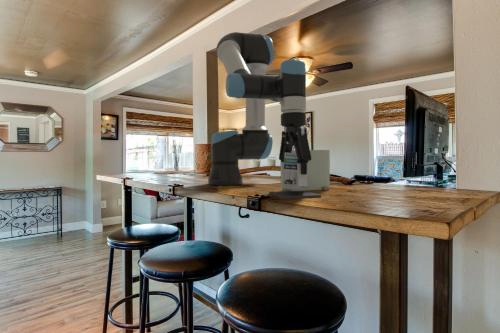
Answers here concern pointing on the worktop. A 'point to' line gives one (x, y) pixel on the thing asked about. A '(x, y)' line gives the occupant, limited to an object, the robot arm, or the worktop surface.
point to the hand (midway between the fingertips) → (293, 183)
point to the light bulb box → (291, 172)
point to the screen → (316, 171)
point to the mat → (294, 194)
